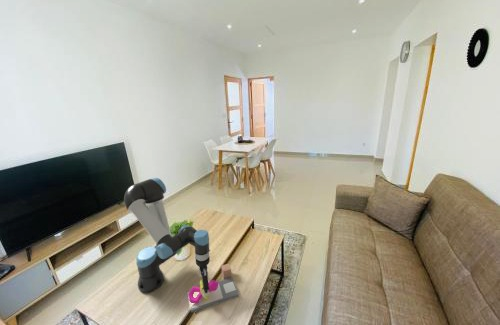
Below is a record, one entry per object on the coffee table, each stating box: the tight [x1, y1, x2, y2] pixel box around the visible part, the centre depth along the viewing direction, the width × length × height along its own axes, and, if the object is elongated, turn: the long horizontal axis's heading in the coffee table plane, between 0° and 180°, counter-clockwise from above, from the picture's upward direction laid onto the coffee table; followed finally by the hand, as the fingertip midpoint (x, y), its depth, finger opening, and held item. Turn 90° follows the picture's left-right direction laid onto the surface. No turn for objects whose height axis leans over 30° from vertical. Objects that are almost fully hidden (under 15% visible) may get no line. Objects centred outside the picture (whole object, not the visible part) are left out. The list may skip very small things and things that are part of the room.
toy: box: [187, 279, 219, 304], centre depth 124 cm, size 10×18×10 cm
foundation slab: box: [187, 276, 240, 313], centre depth 128 cm, size 28×13×2 cm, turn 112°
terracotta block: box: [221, 263, 232, 280], centre depth 140 cm, size 5×5×7 cm
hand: (203, 285), depth 123 cm, fingers open, 13 cm apart
